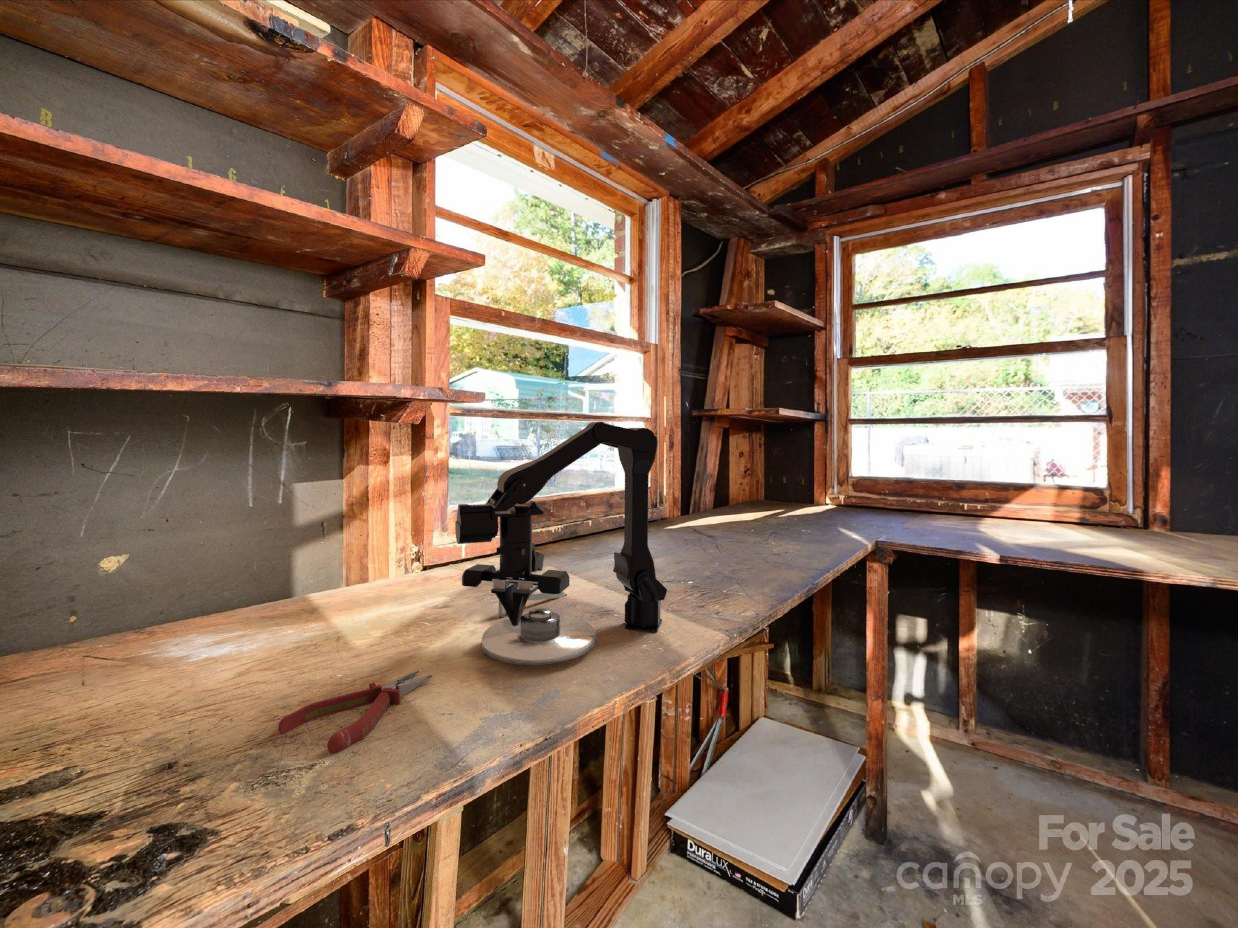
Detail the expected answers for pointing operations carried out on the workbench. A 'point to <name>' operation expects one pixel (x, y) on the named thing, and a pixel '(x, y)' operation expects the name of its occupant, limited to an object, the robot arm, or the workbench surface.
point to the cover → (540, 624)
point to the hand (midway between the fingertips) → (515, 625)
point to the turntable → (538, 643)
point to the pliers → (368, 721)
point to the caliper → (533, 597)
